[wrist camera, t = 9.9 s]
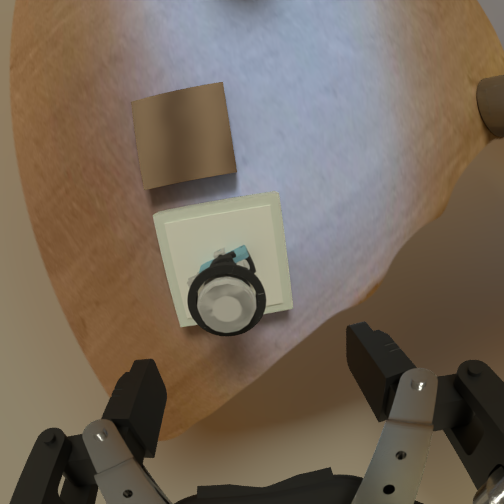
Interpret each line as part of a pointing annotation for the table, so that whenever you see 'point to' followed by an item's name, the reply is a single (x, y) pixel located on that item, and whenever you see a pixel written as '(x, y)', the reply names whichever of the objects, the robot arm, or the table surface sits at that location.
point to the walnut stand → (183, 135)
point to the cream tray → (225, 245)
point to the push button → (227, 294)
